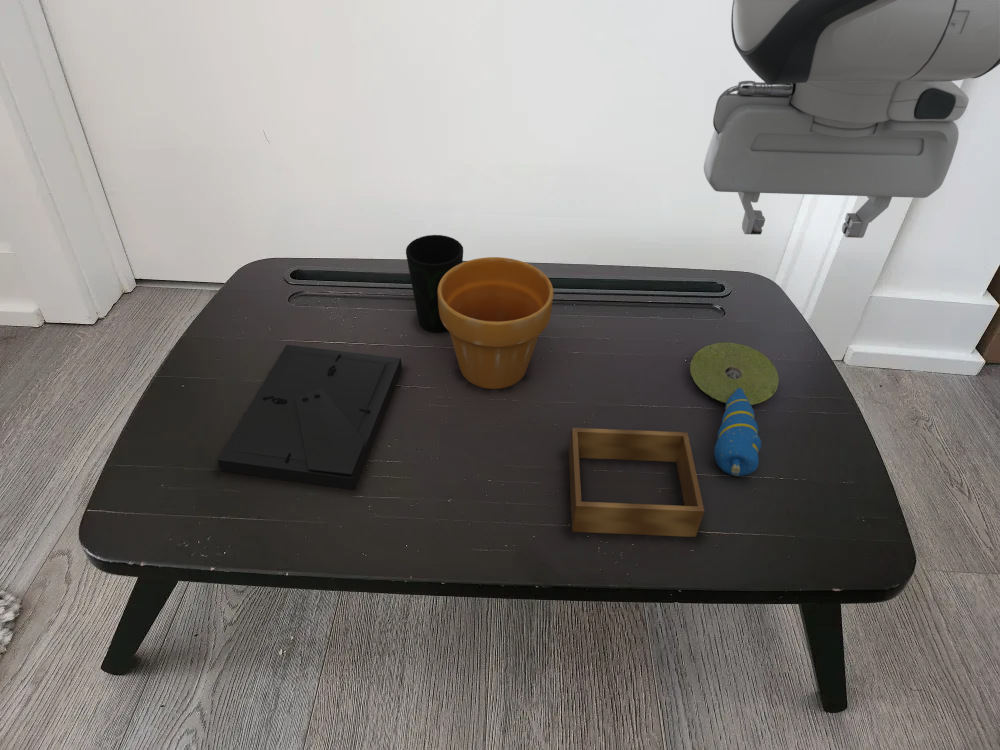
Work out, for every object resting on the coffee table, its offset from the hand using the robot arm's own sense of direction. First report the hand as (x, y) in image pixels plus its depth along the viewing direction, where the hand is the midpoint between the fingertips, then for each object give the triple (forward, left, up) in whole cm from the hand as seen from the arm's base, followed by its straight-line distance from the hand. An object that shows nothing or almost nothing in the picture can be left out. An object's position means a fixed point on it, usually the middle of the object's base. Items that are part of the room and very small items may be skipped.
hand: (801, 233), depth 68 cm
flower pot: (+28, +14, -29) cm, 43 cm away
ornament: (+4, -6, -27) cm, 28 cm away
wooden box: (+2, +15, -29) cm, 33 cm away
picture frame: (+34, +37, -29) cm, 58 cm away
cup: (+41, +14, -29) cm, 52 cm away
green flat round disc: (+7, -9, -29) cm, 31 cm away
